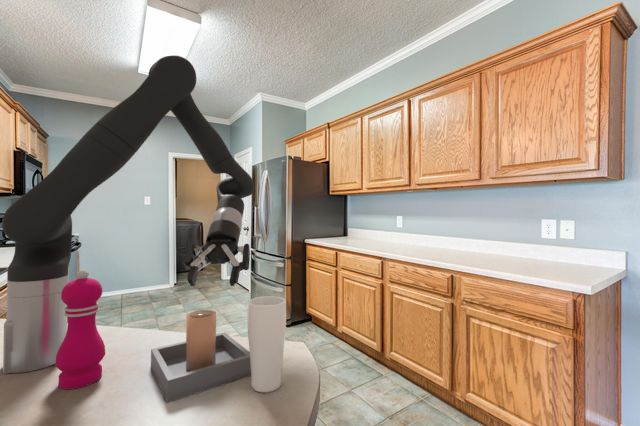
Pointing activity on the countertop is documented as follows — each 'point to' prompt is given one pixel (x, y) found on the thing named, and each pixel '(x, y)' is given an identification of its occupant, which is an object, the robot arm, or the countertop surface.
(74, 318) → the pepper mill
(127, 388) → the countertop surface
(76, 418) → the countertop surface
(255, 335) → the drinking glass
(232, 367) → the charcoal tray
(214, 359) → the terracotta cup
